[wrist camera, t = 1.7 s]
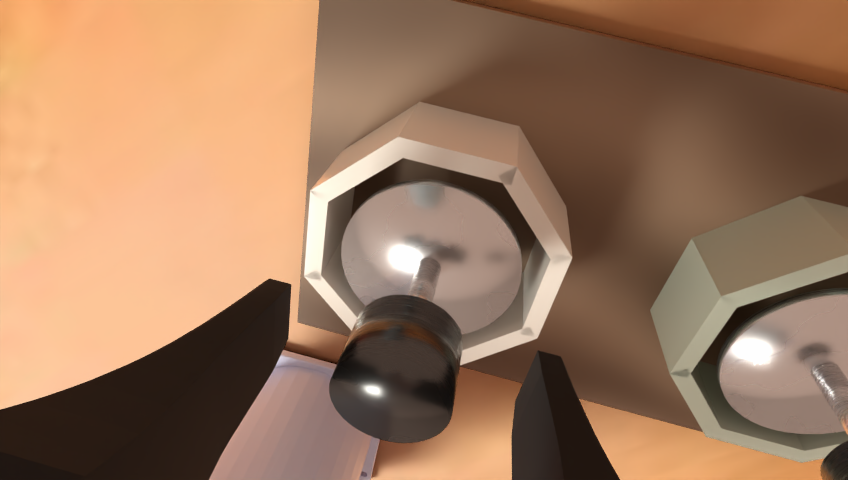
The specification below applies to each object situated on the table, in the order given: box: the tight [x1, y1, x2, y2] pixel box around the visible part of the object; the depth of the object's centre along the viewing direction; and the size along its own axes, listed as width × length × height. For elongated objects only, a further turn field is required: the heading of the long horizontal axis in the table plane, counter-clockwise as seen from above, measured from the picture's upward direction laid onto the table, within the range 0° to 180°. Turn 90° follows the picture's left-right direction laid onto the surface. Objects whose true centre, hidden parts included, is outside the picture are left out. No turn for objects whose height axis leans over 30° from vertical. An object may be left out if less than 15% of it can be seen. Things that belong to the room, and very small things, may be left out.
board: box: [298, 0, 848, 432], centre depth 20 cm, size 15×24×1 cm, turn 79°
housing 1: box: [304, 102, 572, 365], centre depth 18 cm, size 8×8×3 cm
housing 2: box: [650, 196, 848, 463], centre depth 18 cm, size 8×8×3 cm
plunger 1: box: [329, 179, 522, 443], centre depth 15 cm, size 6×6×6 cm
